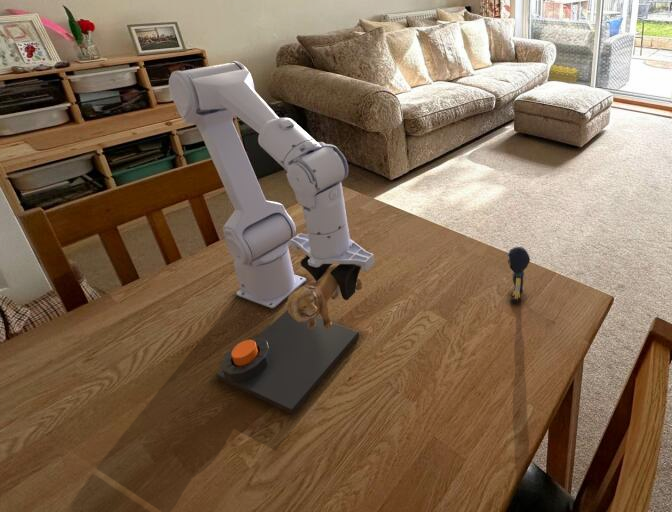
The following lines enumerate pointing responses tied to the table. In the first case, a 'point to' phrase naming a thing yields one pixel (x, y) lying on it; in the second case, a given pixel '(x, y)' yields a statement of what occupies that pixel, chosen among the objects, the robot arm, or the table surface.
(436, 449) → the table surface
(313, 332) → the scale
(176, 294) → the table surface
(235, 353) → the button
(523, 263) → the character figure
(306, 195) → the robot arm
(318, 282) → the lion figurine
